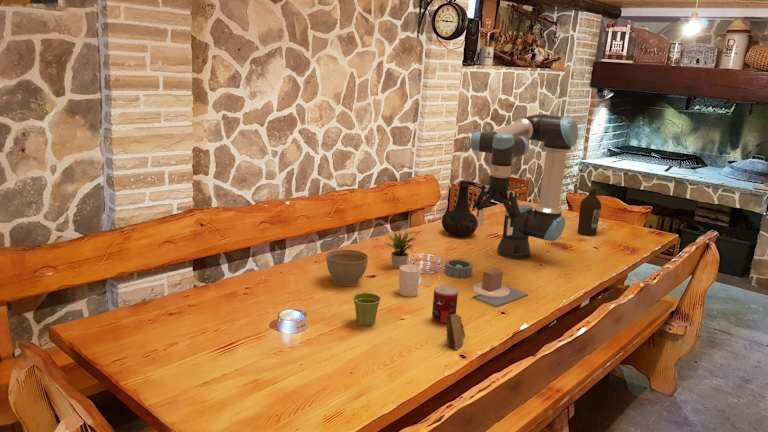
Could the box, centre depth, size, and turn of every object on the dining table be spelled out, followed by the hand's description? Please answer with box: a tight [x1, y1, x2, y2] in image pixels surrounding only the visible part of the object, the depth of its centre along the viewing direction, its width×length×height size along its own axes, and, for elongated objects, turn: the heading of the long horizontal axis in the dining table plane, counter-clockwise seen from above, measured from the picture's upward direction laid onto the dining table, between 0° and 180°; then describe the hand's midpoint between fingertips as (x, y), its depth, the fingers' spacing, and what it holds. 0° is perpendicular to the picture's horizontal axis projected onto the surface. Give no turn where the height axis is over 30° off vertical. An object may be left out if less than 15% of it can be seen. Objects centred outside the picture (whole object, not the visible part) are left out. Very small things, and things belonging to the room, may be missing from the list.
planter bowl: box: [325, 249, 369, 287], centre depth 239 cm, size 16×16×11 cm
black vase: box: [441, 179, 478, 238], centre depth 309 cm, size 18×18×28 cm
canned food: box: [431, 285, 459, 325], centre depth 210 cm, size 8×8×11 cm
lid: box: [472, 267, 510, 298], centre depth 237 cm, size 14×14×8 cm
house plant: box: [385, 230, 418, 269], centre depth 256 cm, size 14×14×16 cm
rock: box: [445, 313, 466, 352], centre depth 195 cm, size 11×9×10 cm
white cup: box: [398, 264, 422, 298], centre depth 232 cm, size 8×8×10 cm
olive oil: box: [577, 186, 602, 237], centre depth 326 cm, size 11×11×25 cm
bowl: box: [444, 259, 474, 279], centre depth 254 cm, size 11×11×5 cm
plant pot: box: [352, 292, 382, 327], centre depth 205 cm, size 9×9×9 cm
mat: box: [471, 285, 529, 308], centre depth 238 cm, size 20×20×1 cm
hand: (494, 230), depth 237 cm, fingers open, 13 cm apart
